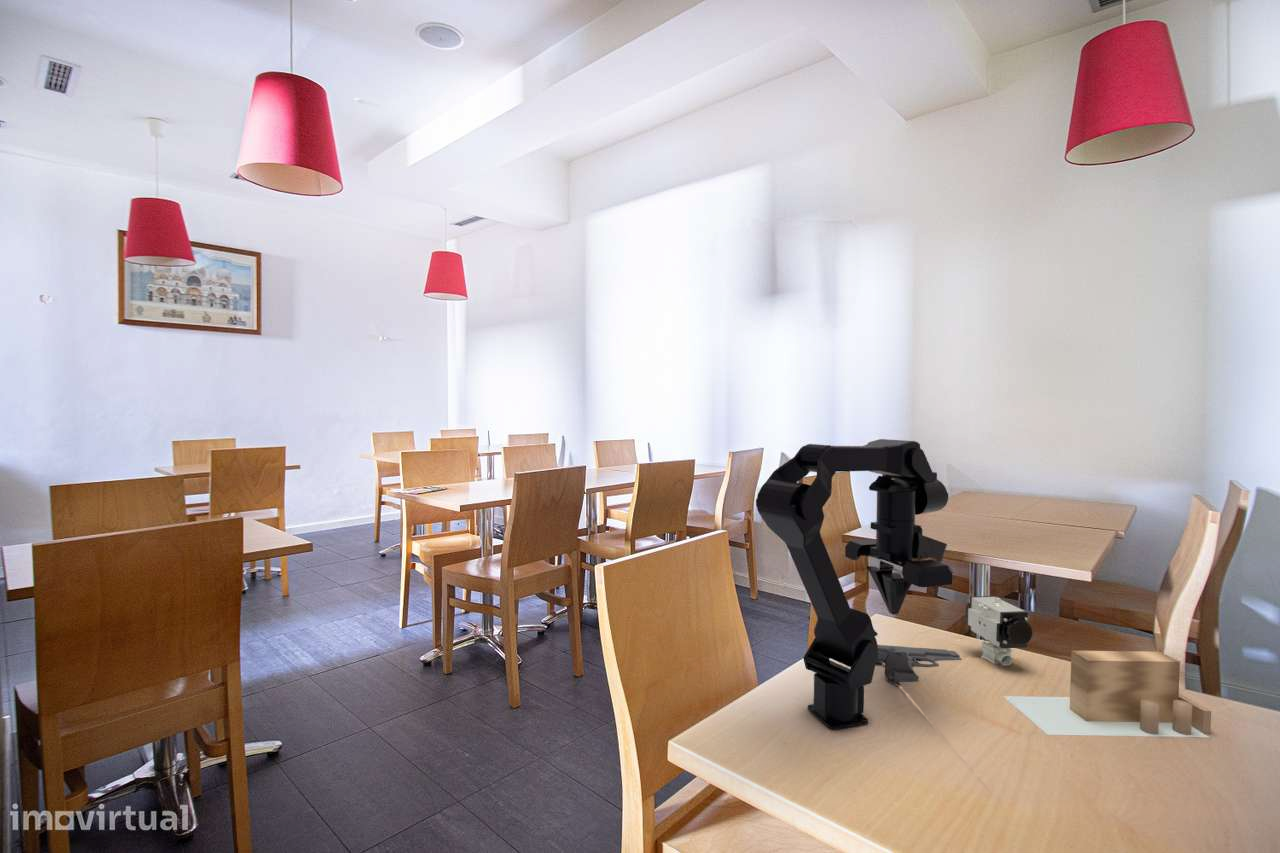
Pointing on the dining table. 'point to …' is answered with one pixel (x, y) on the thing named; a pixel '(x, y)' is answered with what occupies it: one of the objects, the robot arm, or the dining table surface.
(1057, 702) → the panel
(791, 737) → the dining table surface
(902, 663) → the handgun
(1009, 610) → the pneumatic valve
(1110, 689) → the brown wooden block
